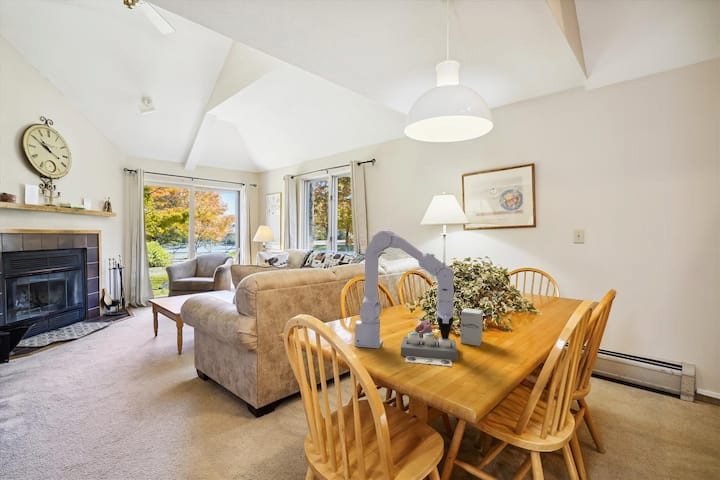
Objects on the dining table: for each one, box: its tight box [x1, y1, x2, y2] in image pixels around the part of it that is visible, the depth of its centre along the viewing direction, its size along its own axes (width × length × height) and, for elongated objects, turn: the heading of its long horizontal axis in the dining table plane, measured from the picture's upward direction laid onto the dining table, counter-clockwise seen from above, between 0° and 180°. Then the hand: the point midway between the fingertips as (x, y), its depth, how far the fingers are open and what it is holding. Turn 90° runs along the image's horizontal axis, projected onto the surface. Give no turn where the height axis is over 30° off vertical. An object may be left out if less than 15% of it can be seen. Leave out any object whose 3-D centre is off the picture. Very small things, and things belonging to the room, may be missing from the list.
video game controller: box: [414, 320, 433, 338], centre depth 138 cm, size 10×5×7 cm, turn 179°
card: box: [404, 356, 453, 368], centre depth 110 cm, size 15×5×1 cm, turn 77°
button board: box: [400, 336, 458, 362], centre depth 119 cm, size 19×12×3 cm, turn 77°
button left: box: [407, 331, 420, 345], centre depth 120 cm, size 4×4×4 cm
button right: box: [438, 336, 452, 348], centre depth 117 cm, size 4×4×4 cm
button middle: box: [423, 332, 436, 346], centre depth 118 cm, size 4×4×4 cm
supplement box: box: [459, 307, 484, 347], centre depth 129 cm, size 7×7×13 cm
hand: (444, 338), depth 117 cm, fingers closed, pressing on button right
